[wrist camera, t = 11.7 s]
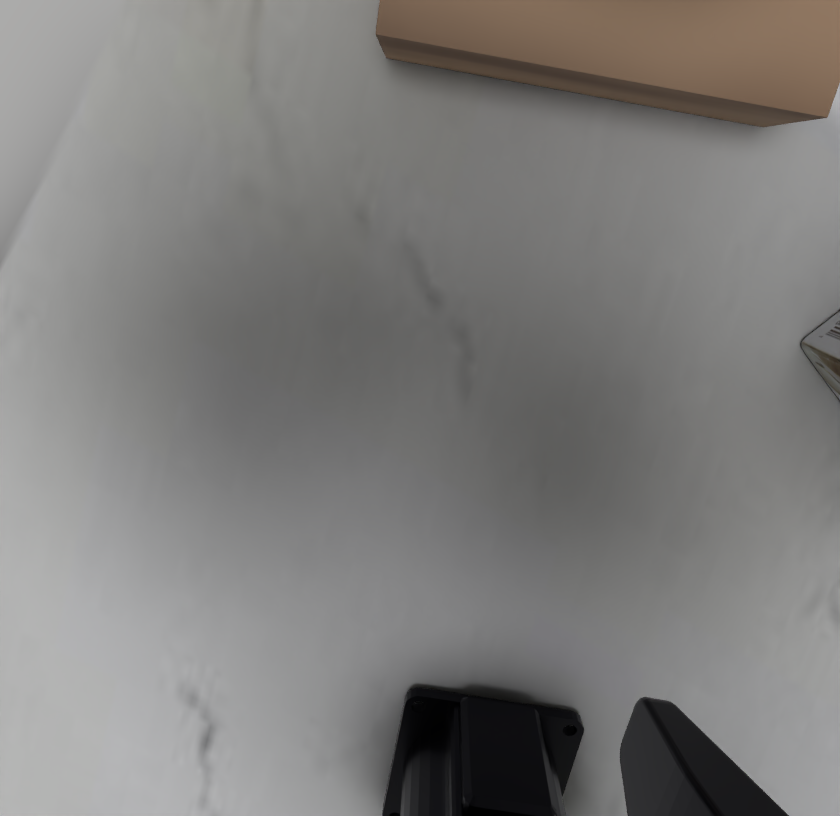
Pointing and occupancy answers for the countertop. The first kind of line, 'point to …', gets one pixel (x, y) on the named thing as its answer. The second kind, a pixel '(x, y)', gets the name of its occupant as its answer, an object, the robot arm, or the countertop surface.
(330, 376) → the countertop surface
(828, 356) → the coffee box
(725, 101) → the walnut base
